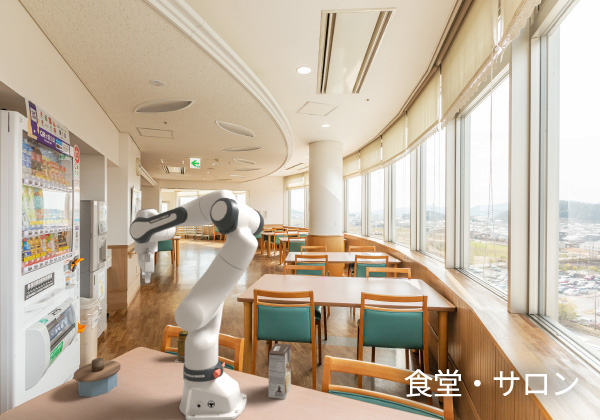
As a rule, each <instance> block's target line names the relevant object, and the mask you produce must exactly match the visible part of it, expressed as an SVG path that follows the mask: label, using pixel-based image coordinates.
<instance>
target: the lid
mask: <svg viewBox="0 0 600 420" xmlns="http://www.w3.org/2000/svg"><path fill="white" fill-rule="evenodd" d="M120 370H121V363H120V362H118V361H116V360H105V358H104V357H97V358H94V359H92V360H91V363H88V364H85V365H83V366H82V367H79V368H78V369H77V370H75V372H74V373H73V379H74V381H77V382H78V381H79V382H92V381H98V380H102V379H105V378H108V377H110V376H112V375H114V374H116V373H117V374H118V372H119V371H120Z"/></svg>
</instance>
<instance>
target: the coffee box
mask: <svg viewBox="0 0 600 420" xmlns="http://www.w3.org/2000/svg"><path fill="white" fill-rule="evenodd" d="M291 351H292V344H287V343H275V344H273V346H272V348H271V349H270V350H269V352H268V387H267V389H268V398H272V399H280V400H286V399H287V398H286V397H287V395H288V394H289V391H290V389H291V387H292V374H291V373H292V366H291V365H292V357H291V356H292V352H291Z"/></svg>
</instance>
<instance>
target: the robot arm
mask: <svg viewBox="0 0 600 420" xmlns="http://www.w3.org/2000/svg"><path fill="white" fill-rule="evenodd" d="M211 224H213V225H214V226H215V227H216V229H217V231H218V232H219V234H221V235H225V236H226V239H225V242H224V243H223V245H222V246H221V248H220V250H219V251H218V252H217V254H216V256H215V257H214V259H213V260H212V261H211V263H210V264H209V266H208V267H207V268H206V269H207V270H205V272H204V273H203V274H202V276H201V277H199V279H198V281H196V283H195V284H194V285H193V286H192V288H191V289H190V290H189V291H188V293H187V294H186V295H185V297H184V298H183V300H182V301H181V302H180V303H179V305H178V306H177V308H176V309H175V312H174V320H175V323H176V325H177V326H178V327H179V328H180V329H181V330H182V331H188V335H187V337H186V340H185V362H183V363H184V364H183V370H182V371H183V372H182V373H183V375H182V376H183V389H182V396H181V398H180V399H181V400H180V403H179V411H180V412H181V413H182V414H183V415H184V418H185V420H234V419H236V418H237V417H239V416H240V415H241V414H242V412H244V409H245V408H246V406H247V402H248V399H247V398H248V397H247V395H246V393H243V392H241V388H240V384H239V382H238V381H237V380H235V379H234V378H233V377H231V376H230V375H229V374H227V373H226V372H225V371H224V367H225V364H226V362H225V361H224V362H223V363H221V362H220V360H219V337H220V329H221V324H222V317H223V309H224V306H225V301H226V298H227V297H228V296H229V295H230V293H231V292H232V291H233V289H235V287H236V286H237V284H238V283H239V281H240V279H241V278H242V276H243V275H244V274H245V272H246V270H247V269H248V268H249V266H250V264H251V262H252V260H253V259H254V256H255V254H256V253H257V249H258V246H259V242H258V240H257V238H256V237H257V236H259V235H260V233H262V231H263V229H264V226H265V219H264V217H263V215H262V214H261V213H260V212H259V211H258V210H256V209H255V208H254V209H253V208H252V207H251V206H248V205H247V204H245V203H243V202H241V201H238V200H237V198H236V196H235V194H234V193H233V191H230V190H228V189H219V190H216V191H215V190H214V191H211V192H209V193H206V194H204V195H201V196H199V197H197V198H195V199H193V200H191V201H188V202H187V203H183V204H181V205H179V206H177V207H175V208H172V209H170V210H166V211H164V212H161V213H159V212H158V210H156V209H155V208H142V209H139V210H137V212H136V213H135V217H134V219H133V221H132V222H131V223H130V226H129V236H130V237H131V239H132V240H133V241H134V244H133V245H134V249H133V250H134V251H133V252H134V253H136V254H137V263H138V267H139V268H140V269H141V278H142V279H143V280H144V282H145V284H150V283H151V276H152V274H154V272H155V257H154V256H155V253H156V252H158V249H159V248H158V243H159V242H162V241H168V240H171V239H173V238H174V237H175V235H176V233H177V227H201V226H209V225H211Z"/></svg>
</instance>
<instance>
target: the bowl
mask: <svg viewBox="0 0 600 420" xmlns="http://www.w3.org/2000/svg"><path fill="white" fill-rule="evenodd" d="M117 386H118V372H117V373H116V374H114V375H112V376H110V377H108V378H105V379H102V380H98V381H92V382H79V381H77V391H78V396H79V397H86V398H87V397H88V398H92V397H96V396H100V395H103V394H107V393H109V392H110V391H112V390H113V389H114V388H116V387H117Z"/></svg>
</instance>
